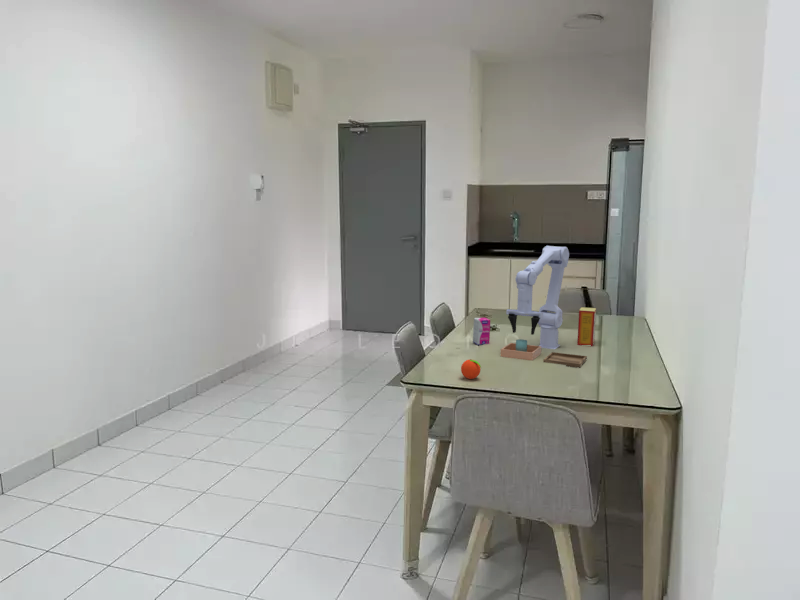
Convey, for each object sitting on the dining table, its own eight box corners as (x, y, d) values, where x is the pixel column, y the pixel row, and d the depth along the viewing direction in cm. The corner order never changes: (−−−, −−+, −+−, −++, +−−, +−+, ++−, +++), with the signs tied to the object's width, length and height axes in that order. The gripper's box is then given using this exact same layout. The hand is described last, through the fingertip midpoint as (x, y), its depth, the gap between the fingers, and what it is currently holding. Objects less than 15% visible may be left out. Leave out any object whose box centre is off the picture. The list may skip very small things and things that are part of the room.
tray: (551, 355, 251) (552, 352, 251) (586, 359, 245) (586, 356, 245) (543, 363, 239) (543, 359, 239) (579, 367, 233) (579, 364, 232)
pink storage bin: (510, 350, 259) (510, 342, 258) (541, 354, 253) (541, 346, 252) (500, 357, 247) (500, 349, 247) (532, 361, 241) (532, 353, 241)
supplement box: (477, 345, 268) (478, 320, 266) (472, 342, 274) (473, 317, 272) (489, 345, 269) (490, 319, 268) (484, 342, 275) (485, 317, 273)
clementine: (486, 379, 217) (487, 359, 216) (475, 383, 212) (475, 363, 211) (468, 374, 222) (468, 355, 221) (456, 378, 217) (457, 359, 216)
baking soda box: (579, 340, 279) (581, 306, 277) (594, 342, 277) (596, 307, 275) (577, 345, 271) (579, 309, 268) (592, 346, 268) (594, 310, 266)
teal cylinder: (517, 353, 253) (517, 338, 252) (528, 354, 251) (528, 340, 250) (514, 355, 249) (514, 341, 248) (524, 356, 247) (525, 342, 246)
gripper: (504, 300, 247) (503, 333, 249) (540, 303, 240) (538, 336, 242) (509, 298, 253) (508, 330, 255) (544, 300, 246) (542, 333, 248)
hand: (523, 333), depth 249 cm, fingers open, 7 cm apart
